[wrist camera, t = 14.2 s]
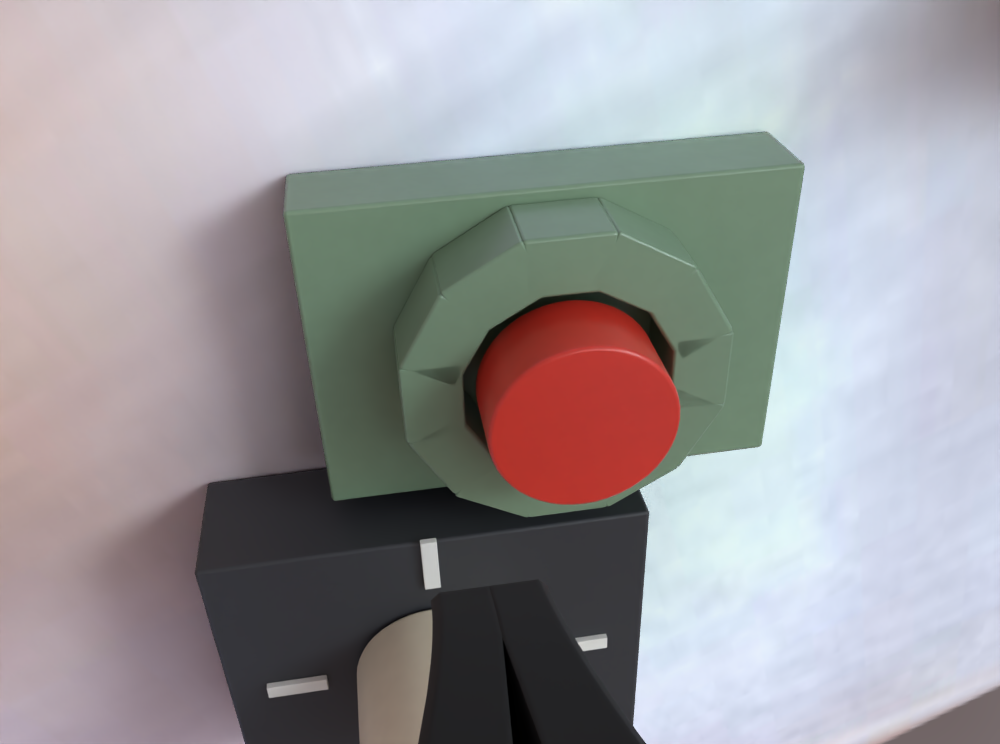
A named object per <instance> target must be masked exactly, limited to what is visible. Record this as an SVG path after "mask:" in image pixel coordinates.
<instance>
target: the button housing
mask: <svg viewBox="0 0 1000 744" xmlns="http://www.w3.org/2000/svg"><path fill="white" fill-rule="evenodd" d="M804 168H805V167H804V163H803V162H801V161H800V160H799V159H798V158H797V157H796V156H795V155H794V154H792V153H791V152H790V151H789V150H788V149H787V148H786V147H784V146H783V145H782V144H781V143H780V142H779V141H778V140H776V139H775V138H774V137H773V136H772V135H771V134H770V133H768V132H761V133H750V134H738V135H727V136H716V137H705V138H693V139H682V140H671V141H659V142H648V143H637V144H625V145H614V146H603V147H592V148H580V149H569V150H558V151H546V152H535V153H524V154H513V155H501V156H490V157H479V158H467V159H456V160H445V161H434V162H422V163H411V164H400V165H388V166H377V167H366V168H354V169H343V170H332V171H321V172H309V173H298V174H289V175H287V176H286V182H285V196H284V210H283V217H284V223H285V229H286V235H287V240H288V246H289V252H290V258H291V264H292V270H293V275H294V281H295V287H296V293H297V299H298V305H299V310H300V316H301V322H302V328H303V334H304V339H305V345H306V351H307V357H308V363H309V369H310V374H311V380H312V386H313V392H314V398H315V403H316V409H317V415H318V421H319V427H320V433H321V438H322V444H323V450H324V456H325V462H326V468H327V473H328V479H329V485H330V491H331V497H332V499H333V500H334V501H339V500H346V499H354V498H362V497H370V496H378V495H386V494H394V493H401V492H409V491H417V490H425V489H433V488H441V487H448V488H449V489H450V490H451V491H452V492H453V493H455V495H456V496H457V497H460V498H463V499H467V500H470V501H473V502H477V503H480V504H483V505H487V506H490V507H493V508H497V509H500V510H503V511H506V512H510V513H513V514H516V515H520V516H523V517H528V516H529V517H535V516H543V515H551V514H558V513H566V512H573V511H581V510H588V509H596V508H603V507H606V506H611V505H612V504H614V503H616V502H618V501H619V500H621V499H623V498H625V497H627V496H628V495H630V494H632V493H634V492H635V491H637V490H639V489H641V488H642V487H644V486H646V485H648V484H650V483H651V482H653V481H655V480H657V479H658V478H660V477H662V476H664V475H665V474H667V473H669V472H671V471H673V470H674V469H676V468H677V466H680V464H681V463H682V462H683V460H684V459H685V458H686V456H692V455H700V454H707V453H715V452H723V451H731V450H739V449H747V448H755V447H760V446H761V444H762V438H763V431H764V425H765V418H766V412H767V406H768V399H769V393H770V386H771V380H772V373H773V367H774V361H775V354H776V348H777V341H778V335H779V328H780V322H781V316H782V309H783V303H784V296H785V290H786V283H787V277H788V271H789V264H790V258H791V251H792V245H793V238H794V232H795V226H796V219H797V213H798V206H799V200H800V193H801V187H802V181H803V174H804ZM567 300H587V301H594V302H599V303H603V304H606V305H609V306H612V307H615V308H617V309H619V310H621V311H623V312H625V313H626V314H628V315H629V316H630V317H632V318H633V319H634V320H635V321H636V322H637V323H638V324H639V325H640V326H641V327H642V328H643V330H644V331H645V332H646V334H647V336H648V337H649V339H650V341H651V343H652V345H653V347H654V348H655V350H656V352H657V354H658V356H659V357H660V359H661V361H662V363H663V365H664V367H665V368H666V370H667V372H668V374H669V376H670V377H671V379H672V381H673V383H674V385H675V387H676V390H677V393H678V396H679V402H680V421H679V427H678V431H677V434H676V437H675V440H674V442H673V444H672V446H671V448H670V450H669V451H668V453H667V455H666V456H665V458H664V459H663V460H662V461H661V463H660V464H659V465H658V466H657V467H656V468H655V469H654V470H653V471H652V472H651V473H650V474H649V475H648V476H647V477H645V478H644V479H643V480H642V481H640V482H639V483H637V484H636V485H634V486H633V487H631V488H629V489H627V490H625V491H623V492H622V493H620V494H617V495H615V496H612V497H610V498H607V499H603V500H600V501H596V502H591V503H586V504H575V505H561V504H553V503H547V502H543V501H539V500H536V499H534V498H531V497H528V496H527V495H525V494H523V493H521V492H519V491H518V490H516V489H515V488H514V487H512V486H511V485H510V484H509V483H508V482H507V481H506V480H505V479H504V478H503V477H502V476H501V475H500V473H499V472H498V471H497V469H496V467H495V465H494V463H493V461H492V459H491V456H490V453H489V449H488V445H487V441H486V436H485V432H484V428H483V424H482V420H481V415H480V411H479V407H478V403H477V397H476V378H477V373H478V369H479V366H480V363H481V360H482V358H483V356H484V354H485V352H486V351H487V349H488V347H489V346H490V344H491V343H492V342H493V340H494V339H495V338H496V337H497V336H498V334H499V333H500V332H501V331H502V330H503V329H504V328H506V327H507V326H508V325H509V324H510V323H512V322H513V321H514V320H516V319H517V318H519V317H520V316H522V315H524V314H526V313H527V312H529V311H531V310H534V309H536V308H539V307H541V306H544V305H547V304H551V303H555V302H561V301H567Z"/></svg>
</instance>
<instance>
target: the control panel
mask: <svg viewBox="0 0 1000 744" xmlns="http://www.w3.org/2000/svg"><path fill="white" fill-rule="evenodd" d="M648 519H649V511H648V509H647V506H646V504H645V502H644V499H643V497H642V495H641V492H640V490H637V491H635V492H634V493H632V494H630V495H628V496H627V497H625V498H623V499H621V500H619V501H618V502H616V503H614V504H612V505H611V506H606V507H603V508H596V509H588V510H581V511H573V512H566V513H558V514H551V515H543V516H535V517H529V516H528V517H523V516H520V515H516V514H513V513H510V512H506V511H503V510H500V509H497V508H493V507H490V506H487V505H483V504H480V503H477V502H473V501H470V500H467V499H463V498H460V497H457V496H456V495H455V493H453V492H452V491H451V490H450V489H449V488H448V487H441V488H433V489H425V490H417V491H409V492H401V493H394V494H386V495H378V496H370V497H362V498H354V499H346V500H339V501H334V500H333V499H332V497H331V491H330V485H329V479H328V473H327V469H322V470H314V471H306V472H298V473H290V474H282V475H274V476H266V477H258V478H250V479H242V480H233V481H225V482H217V483H211V484H209V485H208V487H207V494H206V501H205V507H204V514H203V521H202V528H201V535H200V541H199V548H198V555H197V562H196V568H195V575H196V579H197V582H198V586H199V589H200V592H201V596H202V599H203V603H204V606H205V609H206V613H207V616H208V619H209V623H210V626H211V630H212V633H213V636H214V640H215V643H216V647H217V650H218V653H219V657H220V660H221V663H222V667H223V670H224V674H225V677H226V680H227V684H228V687H229V691H230V694H231V697H232V701H233V704H234V707H235V711H236V714H237V718H238V721H239V724H240V728H241V731H242V735H243V738H244V741H245V744H360V741H359V717H358V692H357V666H358V662H359V659H360V657H361V655H362V653H363V651H364V649H365V647H366V646H367V644H368V643H369V642H370V641H371V640H372V638H373V637H374V636H375V635H376V634H378V633H379V632H380V631H381V630H382V629H384V628H385V627H387V626H388V625H390V624H391V623H393V622H395V621H397V620H399V619H401V618H403V617H406V616H408V615H411V614H414V613H417V612H420V611H425V610H430V609H432V608H431V600H432V599H433V598H434V597H435V596H436V595H438V594H439V593H440V592H447V591H455V590H462V589H470V588H477V587H484V586H492V585H499V584H507V583H514V582H522V581H529V580H536V579H539V580H540V581H542V582H543V583H545V584H546V585H547V586H548V588H549V590H550V592H551V595H552V597H553V599H554V601H555V603H556V605H557V607H558V608H559V610H560V612H561V614H562V616H563V618H564V620H565V622H566V623H567V625H568V627H569V629H570V630H571V632H572V634H573V636H574V637H575V639H576V641H577V642H578V644H579V646H580V647H581V649H582V651H583V652H584V654H585V655H586V657H587V659H588V660H589V662H590V663H591V665H592V667H593V668H594V670H595V671H596V673H597V674H598V676H599V678H600V679H601V681H602V682H603V684H604V685H605V687H606V688H607V690H608V691H609V692H610V694H611V695H612V697H613V698H614V700H615V701H616V702H617V704H618V705H619V707H620V708H621V710H622V711H623V712H624V714H625V715H626V717H627V718H628V720H629V721H630V722H631V724H632V725H633V718H634V705H635V691H636V678H637V665H638V652H639V638H640V625H641V612H642V599H643V586H644V572H645V559H646V546H647V533H648Z"/></svg>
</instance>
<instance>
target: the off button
mask: <svg viewBox="0 0 1000 744" xmlns="http://www.w3.org/2000/svg"><path fill="white" fill-rule="evenodd" d="M476 397H477V403H478V407H479V411H480V415H481V420H482V424H483V428H484V432H485V436H486V441H487V445H488V449H489V453H490V456H491V459H492V461H493V463H494V465H495V467H496V469H497V471H498V472H499V473H500V475H501V476H502V477H503V478H504V479H505V480H506V481H507V482H508V483H509V484H510V485H511V486H512V487H514V488H515V489H516V490H518V491H519V492H521V493H523V494H525V495H527V496H528V497H531V498H534V499H536V500H539V501H543V502H547V503H553V504H561V505H575V504H586V503H591V502H596V501H600V500H603V499H607V498H610V497H612V496H615V495H617V494H620V493H622V492H623V491H625V490H627V489H629V488H631V487H633V486H634V485H636V484H637V483H639V482H640V481H642V480H643V479H644V478H645V477H647V476H648V475H649V474H650V473H651V472H652V471H653V470H654V469H655V468H656V467H657V466H658V465H659V464H660V463H661V461H662V460H663V459H664V458H665V456H666V455H667V453H668V451H669V450H670V448H671V446H672V444H673V442H674V440H675V437H676V434H677V431H678V427H679V421H680V402H679V396H678V393H677V390H676V387H675V385H674V383H673V381H672V379H671V377H670V376H669V374H668V372H667V370H666V368H665V367H664V365H663V363H662V361H661V359H660V357H659V356H658V354H657V352H656V350H655V348H654V347H653V345H652V343H651V341H650V339H649V337H648V336H647V334H646V332H645V331H644V330H643V328H642V327H641V326H640V325H639V324H638V323H637V322H636V321H635V320H634V319H633V318H632V317H630V316H629V315H628V314H626V313H625V312H623V311H621V310H619V309H617V308H615V307H612V306H609V305H606V304H603V303H599V302H594V301H587V300H567V301H561V302H555V303H551V304H547V305H544V306H541V307H539V308H536V309H534V310H531V311H529V312H527V313H526V314H524V315H522V316H520V317H519V318H517V319H516V320H514V321H513V322H512V323H510V324H509V325H508V326H507V327H506V328H504V329H503V330H502V331H501V332H500V333H499V334H498V336H497V337H496V338H495V339H494V340H493V342H492V343H491V344H490V346H489V347H488V349H487V351H486V352H485V354H484V356H483V358H482V360H481V363H480V366H479V369H478V373H477V378H476Z"/></svg>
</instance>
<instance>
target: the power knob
mask: <svg viewBox="0 0 1000 744" xmlns="http://www.w3.org/2000/svg"><path fill="white" fill-rule="evenodd" d="M431 652H432V609H430V610H425V611H420V612H417V613H414V614H411V615H408V616H406V617H403V618H401V619H399V620H397V621H395V622H393V623H391V624H390V625H388V626H387V627H385V628H384V629H382V630H381V631H380V632H379V633H378V634H376V635H375V636H374V637H373V638H372V640H371V641H370V642H369V643H368V644H367V646H366V647H365V649H364V651H363V653H362V655H361V657H360V659H359V662H358V666H357V692H358V717H359V741H360V744H418V741H419V735H420V730H421V724H422V719H423V713H424V707H425V702H426V696H427V689H428V680H429V672H430V664H431Z"/></svg>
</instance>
